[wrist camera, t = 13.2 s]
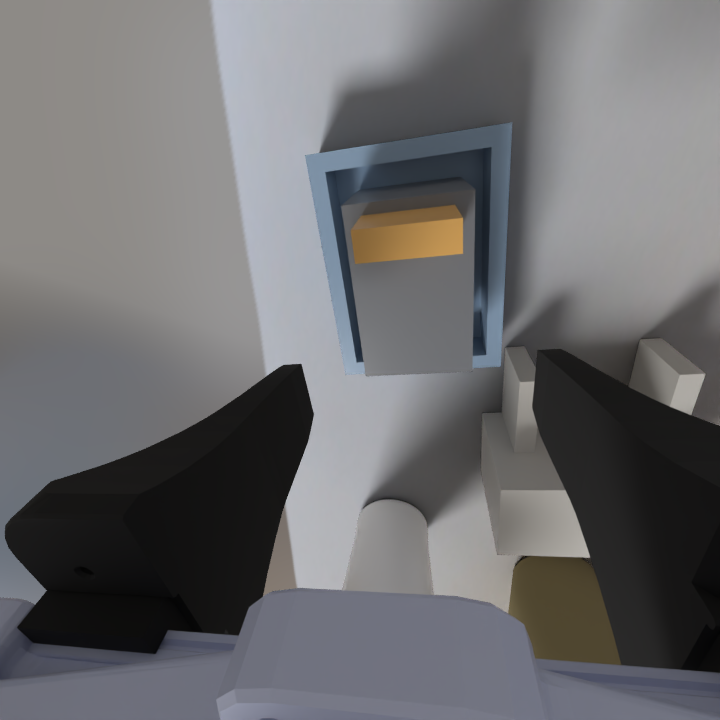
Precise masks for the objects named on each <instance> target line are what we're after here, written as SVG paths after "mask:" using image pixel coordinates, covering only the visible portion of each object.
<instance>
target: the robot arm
mask: <svg viewBox="0 0 720 720" xmlns="http://www.w3.org/2000/svg"><path fill="white" fill-rule="evenodd" d="M532 409H533V413H534V416H535V420H536V423H537V427H538V430H539V433H540V436H541V438H542V441H543V443H544V445H545V447H546V450H547V452H548V454H549V456H550V458H551V460H552V463H553V465H554V467H555V469H556V471H557V473H558V475H559V478H560V480H561V482H562V484H563V486H564V488H565V490H566V493H567V495H568V497H569V499H570V501H571V504H572V506H573V509H574V511H575V513H576V516H577V519H578V522H579V525H580V528H581V531H582V534H583V537H584V540H585V543H586V546H587V549H588V552H589V555H590V558H591V561H592V564H593V568H594V571H595V574H596V577H597V580H598V584H599V587H600V590H601V594H602V597H603V601H604V604H605V607H606V611H607V614H608V618H609V621H610V625H611V628H612V632H613V635H614V639H615V643H616V647H617V650H618V654H619V658H620V662H621V665H613V664H600V663H587V662H574V661H561V660H548V659H535V656H534V652H533V647H532V643H531V641H530V638H529V636H528V633H527V631H526V628H525V625H524V624H523V623H521V622H520V621H519V620H517V619H516V618H515V617H513V616H511V615H510V614H508V613H506V612H505V611H503V610H501V609H500V608H498V607H496V606H495V605H493V604H491V603H488V602H483V601H478V600H473V599H468V598H463V597H458V596H443V595H424V594H405V593H385V592H366V591H347V590H327V589H308V588H296V589H288V590H281V591H280V590H279V591H272V592H270V593H268V594H266V595H265V596H263V593H264V588H265V583H266V578H267V573H268V569H269V564H270V559H271V556H272V551H273V547H274V543H275V538H276V534H277V531H278V527H279V523H280V518H281V514H282V511H283V508H284V505H285V502H286V499H287V496H288V494H289V491H290V488H291V486H292V483H293V480H294V478H295V475H296V472H297V470H298V467H299V465H300V462H301V459H302V456H303V454H304V451H305V448H306V445H307V443H308V439H309V435H310V431H311V426H312V421H313V416H314V413H313V409H312V405H311V401H310V397H309V393H308V389H307V385H306V381H305V377H304V373H303V369H302V365H301V364H292V365H283V366H281V367H279V368H278V369H276V370H275V371H273V372H272V373H270V374H269V375H268V376H266V377H265V378H264V379H262V380H261V381H259V382H258V383H257V384H255V385H254V386H253V387H251V388H250V389H248V390H247V391H246V392H244V393H243V394H242V395H240V396H239V397H237V398H236V399H234V400H233V401H231V402H230V403H228V404H227V405H225V406H224V407H223V408H221V409H220V410H218V411H217V412H215V413H213V414H212V415H210V416H208V417H207V418H205V419H203V420H202V421H200V422H198V423H197V424H195V425H193V426H191V427H189V428H187V429H185V430H184V431H182V432H180V433H178V434H176V435H174V436H171V437H169V438H167V439H165V440H163V441H161V442H159V443H157V444H154V445H152V446H150V447H148V448H146V449H143V450H141V451H138V452H136V453H133V454H131V455H129V456H126V457H123V458H121V459H118V460H115V461H113V462H110V463H107V464H105V465H101V466H99V467H96V468H92V469H89V470H86V471H83V472H80V473H77V474H73V475H70V476H67V477H64V478H61V479H57V480H54V481H51V482H50V483H49V484H47V485H46V486H45V487H44V488H43V489H42V490H41V491H40V492H39V493H38V494H37V495H36V496H35V497H34V498H32V499H31V500H30V501H29V502H28V503H27V504H26V505H25V506H24V507H23V508H22V509H21V510H20V511H19V512H17V513H16V514H15V515H14V516H13V517H12V518H11V519H10V521H9V522H8V523H7V524H6V526H5V539H6V542H7V544H8V547H9V549H10V550H11V551H12V553H13V554H14V555H15V557H16V558H17V559H18V560H19V561H20V562H21V563H22V564H23V565H24V566H25V568H26V569H27V570H28V571H29V572H30V573H31V574H32V575H33V576H34V577H35V578H36V579H37V581H39V583H40V584H41V585H42V586H43V587H44V588H45V589H46V590H47V591H46V592H45V594H44V595H43V596H42V597H41V599H40V600H39V601H38V602H37V603H36V605H34V604H33V603H31V602H28V601H26V600H22V599H14V598H0V720H720V426H718V425H715V424H713V423H710V422H707V421H704V420H702V419H699V418H697V417H694V416H692V415H689V414H687V413H684V412H682V411H680V410H677V409H675V408H672V407H670V406H667V405H665V404H663V403H661V402H659V401H656V400H654V399H652V398H650V397H648V396H646V395H644V394H642V393H640V392H638V391H636V390H634V389H632V388H630V387H628V386H626V385H624V384H622V383H621V382H619V381H617V380H615V379H613V378H611V377H610V376H608V375H606V374H604V373H603V372H601V371H599V370H597V369H596V368H594V367H592V366H590V365H589V364H587V363H585V362H584V361H582V360H580V359H578V358H577V357H575V356H573V355H571V354H570V353H568V352H566V351H564V350H562V349H551V350H538V352H537V362H536V372H535V382H534V392H533V402H532Z"/></svg>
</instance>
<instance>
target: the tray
mask: <svg viewBox="0 0 720 720" xmlns="http://www.w3.org/2000/svg"><path fill="white" fill-rule="evenodd" d="M511 140H512V122H511V123H504V124H498V125H492V126H486V127H479V128H473V129H467V130H461V131H454V132H448V133H442V134H436V135H429V136H423V137H417V138H411V139H404V140H398V141H392V142H385V143H379V144H373V145H367V146H360V147H354V148H348V149H342V150H335V151H329V152H323V153H317V154H310V155H305V157H306V163H307V168H308V174H309V179H310V184H311V190H312V195H313V201H314V206H315V212H316V217H317V223H318V228H319V233H320V239H321V244H322V250H323V255H324V261H325V266H326V271H327V277H328V282H329V288H330V293H331V299H332V304H333V309H334V315H335V320H336V326H337V331H338V337H339V342H340V347H341V353H342V358H343V364H344V369H345V375H349V374H365V368H364V361H363V354H362V347H361V340H360V333H359V326H358V319H357V312H356V305H355V298H354V291H353V284H352V277H351V270H350V263H349V256H348V249H347V243H346V236H345V229H344V222H343V215H342V208H341V206H342V205H343V204H344V203H345V202H346V201H347V200H348V199H349V198H351V197H352V196H353V195H354V194H355V193H356V192H357V191H359V190H360V189H368V188H376V187H383V186H391V185H399V184H407V183H414V182H422V181H430V180H437V179H445V178H453V177H461V178H462V179H464V180H465V181H466V182H467V183H468V184H470V185H471V186H472V187H473V188H474V189H475V246H474V307H473V368H484V367H501V351H502V330H503V309H504V288H505V267H506V245H507V224H508V203H509V182H510V161H511Z"/></svg>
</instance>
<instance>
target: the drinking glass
mask: <svg viewBox="0 0 720 720" xmlns="http://www.w3.org/2000/svg"><path fill="white" fill-rule="evenodd" d="M342 590H347V591H366V592H385V593H405V594H424V595H434V591H433V583H432V574H431V566H430V557H429V547H428V526H427V522H426V519H425V518H424V516H423V514H422V513H421V512H420V511H419V510H418V509H417V508H415V507H414V506H412V505H411V504H408V503H406V502H403V501H399V500H393V499H385V500H379V501H375V502H373V503H371V504H369V505H367V506H366V507H365V508H364V509H363V510H362V511H361V513H360V514H359V517H358V520H357V525H356V532H355V538H354V543H353V547H352V551H351V555H350V559H349V563H348V568H347V572H346V576H345V580H344V584H343V588H342Z"/></svg>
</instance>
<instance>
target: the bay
mask: <svg viewBox="0 0 720 720" xmlns="http://www.w3.org/2000/svg"><path fill="white" fill-rule="evenodd" d="M535 372H536V368H535V366H534V364H533V362H532V360H531V358H530V356H529V354H528V352H527V350H526V349H525V347H524V346H521V347H505V360H504V380H503V399H502V412H501V413H482V446H481V475H482V480H483V485H484V490H485V495H486V500H487V505H488V511H489V516H490V521H491V526H492V531H493V536H494V541H495V546H496V551H497V555H522V556H554V557H585V558H590V555H589V552H588V549H587V546H586V543H585V540H584V537H583V534H582V531H581V528H580V525H579V522H578V519H577V516H576V513H575V511H574V509H573V506H572V504H571V501H570V499H569V497H568V495H567V493H566V490H565V488H564V486H563V484H562V482H561V480H560V478H559V475H558V473H557V471H556V469H555V467H554V465H553V463H552V460H551V458H550V456H549V454H548V452H547V450H546V447H545V445H544V443H543V441H542V438H541V436H540V433H539V430H538V427H537V423H536V420H535V416H534V413H533V409H532V402H533V392H534V382H535ZM704 377H705V373H704V372H703V371H702V370H700V369H699V368H698V367H697V366H695V365H694V364H693V363H692V362H691V361H689V360H688V359H687V358H686V357H684V356H683V355H682V354H681V353H679V352H678V351H677V350H676V349H674V348H673V347H672V346H671V345H669V344H668V343H667V342H666V341H665V340H663V339H662V338H654V339H640V341H639V345H638V350H637V354H636V358H635V362H634V366H633V370H632V374H631V378H630V383H629V387H630V388H632V389H634V390H636V391H638V392H640V393H642V394H644V395H646V396H648V397H650V398H652V399H654V400H656V401H659V402H661V403H663V404H665V405H667V406H670V407H672V408H675V409H677V410H680V411H682V412H684V413H687V414H689V415H691V414H692V411H693V408H694V406H695V403H696V400H697V397H698V394H699V391H700V389H701V386H702V383H703V380H704Z"/></svg>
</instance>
